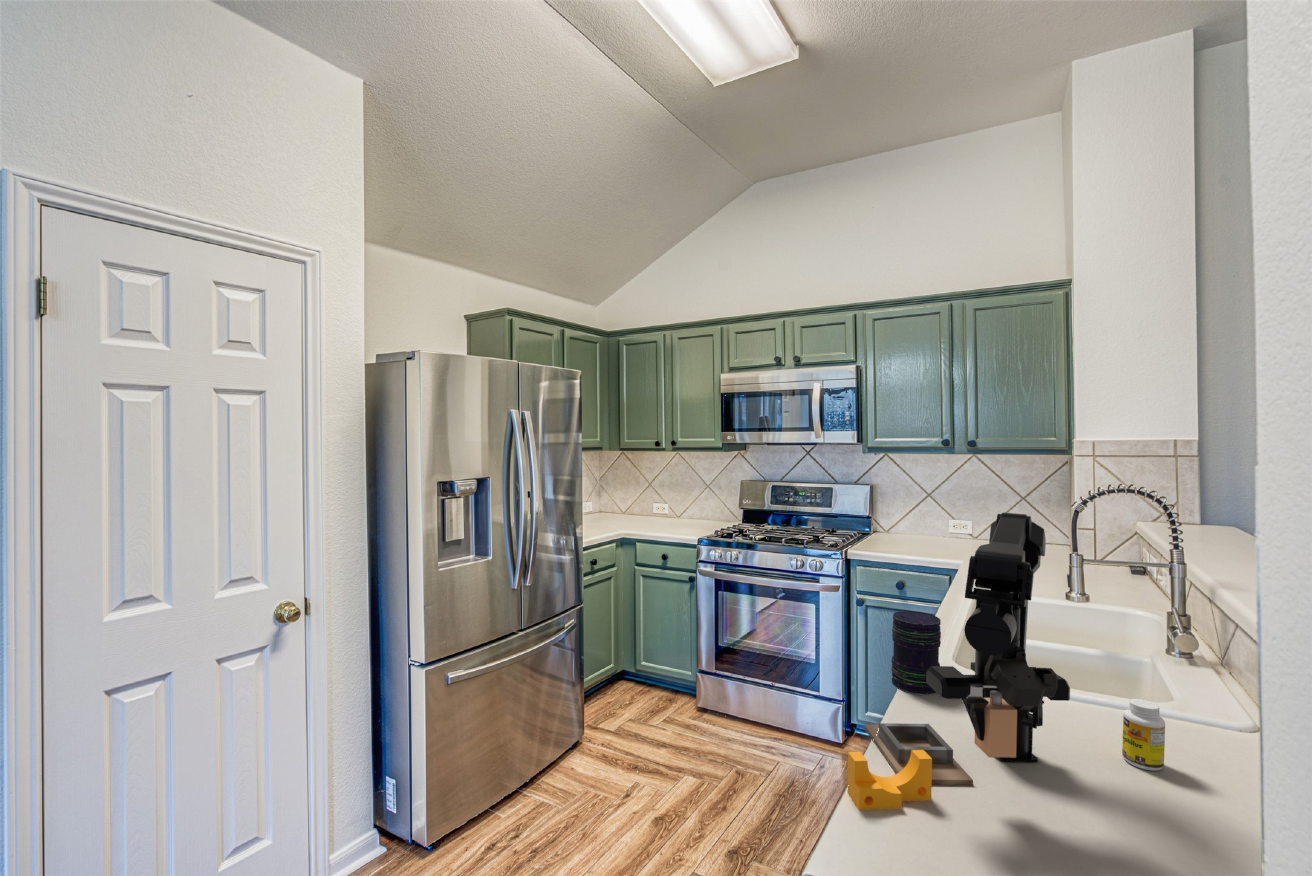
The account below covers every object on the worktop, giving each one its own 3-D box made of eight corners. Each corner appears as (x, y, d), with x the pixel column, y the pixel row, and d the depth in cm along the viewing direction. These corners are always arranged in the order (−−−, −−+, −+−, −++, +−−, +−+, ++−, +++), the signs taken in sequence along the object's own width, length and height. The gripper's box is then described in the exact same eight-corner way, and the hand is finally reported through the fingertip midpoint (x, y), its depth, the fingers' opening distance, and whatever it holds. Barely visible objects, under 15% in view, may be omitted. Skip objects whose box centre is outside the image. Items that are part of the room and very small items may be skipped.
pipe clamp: (858, 811, 91) (859, 767, 90) (847, 793, 95) (848, 751, 95) (937, 808, 92) (938, 764, 91) (922, 790, 96) (923, 749, 96)
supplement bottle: (1113, 754, 107) (1115, 696, 107) (1145, 754, 107) (1146, 696, 107) (1140, 772, 102) (1141, 710, 101) (1172, 772, 102) (1174, 710, 102)
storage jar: (934, 678, 139) (936, 612, 139) (944, 697, 130) (946, 626, 129) (888, 674, 142) (889, 609, 141) (894, 691, 132) (895, 622, 132)
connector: (1000, 743, 94) (1001, 687, 94) (1016, 757, 90) (1017, 698, 90) (974, 743, 94) (975, 687, 94) (988, 757, 90) (990, 698, 90)
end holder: (922, 729, 115) (923, 712, 115) (972, 784, 97) (973, 764, 97) (864, 728, 115) (864, 711, 115) (903, 784, 97) (903, 764, 97)
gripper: (961, 654, 84) (959, 768, 84) (1098, 656, 84) (1095, 770, 84) (925, 628, 95) (923, 728, 95) (1046, 629, 95) (1044, 730, 95)
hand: (994, 739), depth 92 cm, fingers closed on connector, 4 cm apart
